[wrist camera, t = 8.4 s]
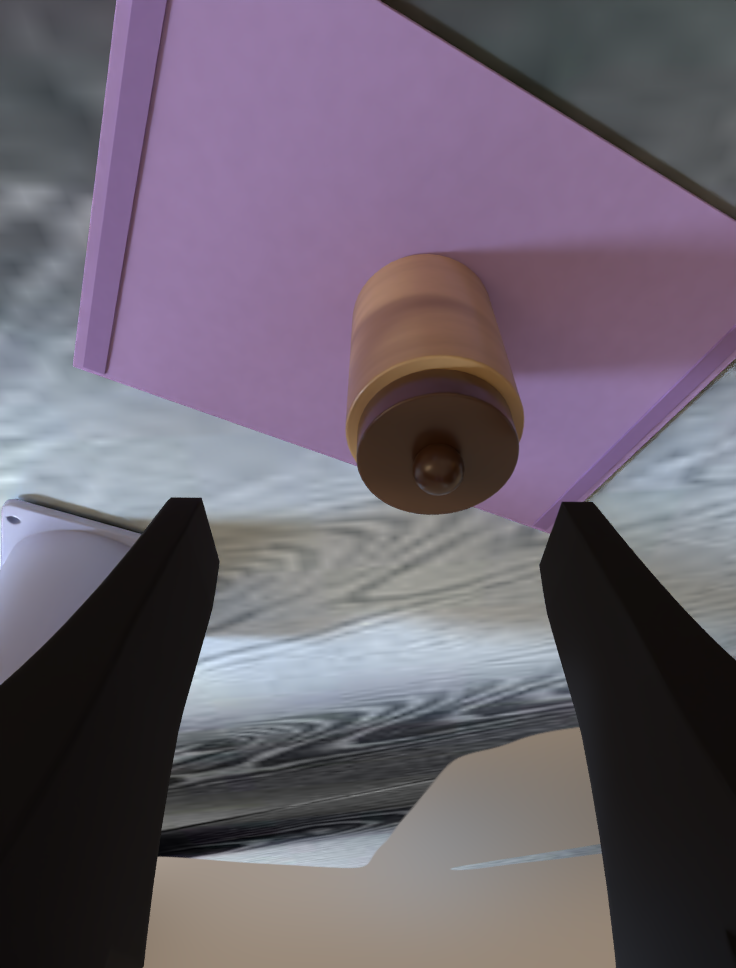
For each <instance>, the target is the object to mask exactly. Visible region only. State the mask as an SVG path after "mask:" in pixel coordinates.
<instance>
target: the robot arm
mask: <svg viewBox="0 0 736 968" xmlns="http://www.w3.org/2000/svg"><path fill="white" fill-rule="evenodd" d="M539 566H540V573H541V580H542V587H543V593H544V599H545V605H546V611H547V615H548V618H549V622H550V625H551V629H552V632H553V636H554V639H555V643H556V646H557V650H558V653H559V657H560V660H561V663H562V667H563V670H564V674H565V677H566V680H567V684H568V687H569V691H570V694H571V697H572V701H573V704H574V708H575V711H576V715H577V719H578V723H579V727H580V730H581V735H582V739H583V745H584V750H585V755H586V760H587V766H588V771H589V777H590V782H591V788H592V793H593V799H594V805H595V812H596V817H597V823H598V829H599V835H600V843H601V849H602V856H603V863H604V870H605V877H606V884H607V891H608V900H609V908H610V916H611V925H612V933H613V940H614V950H615V960H616V968H736V660H735V659H734V658H732V657H731V656H730V655H729V654H728V653H727V652H726V651H725V650H724V649H723V648H722V647H721V646H720V645H719V644H718V643H717V642H716V641H715V640H714V639H713V638H712V637H710V636H709V634H708V633H707V632H706V631H705V630H704V629H703V628H702V627H701V626H700V625H699V624H698V623H697V622H696V621H695V620H694V619H693V618H692V617H691V616H690V615H689V614H688V613H687V612H686V611H685V610H684V609H683V607H682V606H681V605H680V604H679V603H678V602H677V601H676V600H675V599H674V598H673V597H672V595H671V594H670V593H669V592H668V591H667V590H666V589H665V588H664V586H663V585H662V584H661V583H660V582H659V581H658V580H657V579H656V577H655V576H654V575H653V574H652V573H651V572H650V571H649V569H648V568H647V567H646V566H645V565H644V564H643V562H642V561H641V560H640V559H639V558H638V556H637V555H636V554H635V553H634V552H633V550H632V549H631V548H630V547H629V546H628V544H627V543H626V542H625V541H624V540H623V538H622V537H621V536H620V535H619V533H618V532H617V531H616V530H615V529H614V527H613V526H612V525H611V524H610V522H609V521H608V520H607V519H606V518H605V516H604V515H603V514H602V513H601V511H600V510H599V509H598V508H597V507H596V506H595V504H594V503H593V502H562V503H561V505H560V508H559V511H558V514H557V517H556V520H555V522H554V525H553V528H552V531H551V534H550V537H549V539H548V542H547V545H546V548H545V551H544V554H543V557H542V559H541V562H540V565H539ZM218 569H219V558H218V555H217V551H216V547H215V544H214V540H213V537H212V533H211V530H210V526H209V522H208V519H207V515H206V512H205V508H204V505H203V501H202V498H170V499H169V500H168V501H167V502H166V503H165V505H164V506H163V507H162V509H161V510H160V511H159V512H158V514H157V515H156V516H155V518H154V519H153V520H152V522H151V523H150V524H149V525H148V527H147V528H146V529H145V531H144V532H143V533H142V534H140V533H136V532H133V531H129V530H125V529H122V528H118V527H115V526H111V525H108V524H104V523H100V522H97V521H93V520H90V519H86V518H82V517H79V516H75V515H72V514H68V513H65V512H61V511H57V510H54V509H50V508H47V507H43V506H39V505H36V504H32V503H29V502H25V501H22V500H18V499H9V500H7V501H6V502H5V503H4V505H3V507H2V519H1V566H0V968H143V966H144V959H145V949H146V940H147V932H148V924H149V916H150V908H151V899H152V892H153V884H154V877H155V870H156V862H157V856H158V849H159V842H160V835H161V829H162V823H163V817H164V810H165V804H166V798H167V792H168V786H169V780H170V775H171V769H172V764H173V758H174V753H175V747H176V742H177V736H178V731H179V727H180V723H181V719H182V715H183V711H184V707H185V703H186V700H187V696H188V693H189V689H190V686H191V682H192V679H193V675H194V672H195V668H196V665H197V662H198V658H199V655H200V651H201V648H202V644H203V640H204V637H205V633H206V630H207V626H208V623H209V619H210V615H211V612H212V608H213V602H214V596H215V590H216V583H217V576H218Z"/></svg>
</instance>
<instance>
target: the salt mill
mask: <svg viewBox="0 0 736 968" xmlns="http://www.w3.org/2000/svg"><path fill="white" fill-rule="evenodd" d="M523 429H524V409H523V405H522V402H521V399H520V396H519V392H518V389H517V386H516V383H515V379H514V376H513V373H512V370H511V366H510V363H509V360H508V357H507V353H506V350H505V347H504V344H503V340H502V337H501V334H500V331H499V327H498V324H497V321H496V318H495V314H494V311H493V308H492V305H491V301H490V298H489V295H488V292H487V290H486V288H485V286H484V284H483V283H482V281H481V280H480V278H479V277H478V276H477V275H476V274H475V273H474V272H473V271H472V270H471V269H469V268H468V267H467V266H465V265H464V264H462V263H460V262H459V261H456V260H454V259H451V258H449V257H445V256H441V255H434V254H418V255H411V256H407V257H404V258H400V259H398V260H395V261H393V262H391V263H389V264H387V265H386V266H384V267H382V268H381V269H380V270H379V271H377V272H376V273H375V274H374V275H373V276H372V277H371V278H370V279H369V280H368V281H367V282H366V284H365V285H364V286H363V288H362V290H361V291H360V293H359V295H358V297H357V300H356V302H355V306H354V310H353V317H352V332H351V347H350V363H349V379H348V395H347V410H346V426H345V430H346V440H347V444H348V447H349V450H350V452H351V455H352V456H353V458H354V459H355V461H356V463H357V467H358V471H359V474H360V476H361V478H362V480H363V482H364V483H365V485H366V486H367V488H368V489H369V490H370V491H371V492H372V493H373V494H374V495H375V496H376V497H377V498H379V499H380V500H382V501H383V502H385V503H386V504H388V505H390V506H392V507H395V508H397V509H400V510H403V511H407V512H411V513H416V514H426V515H438V514H448V513H453V512H458V511H462V510H465V509H468V508H471V507H473V506H476V505H478V504H480V503H482V502H484V501H485V500H487V499H488V498H490V497H491V496H493V495H494V494H495V493H497V492H498V491H499V490H500V489H501V488H502V487H503V486H504V485H505V484H506V482H507V481H508V480H509V479H510V477H511V475H512V473H513V472H514V469H515V467H516V464H517V461H518V457H519V442H520V440H521V437H522V434H523Z"/></svg>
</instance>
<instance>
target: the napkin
mask: <svg viewBox="0 0 736 968" xmlns="http://www.w3.org/2000/svg"><path fill="white" fill-rule="evenodd" d="M418 254H434V255H441V256H445V257H449V258H451V259H454V260H456V261H459V262H460V263H462V264H464V265H465V266H467V267H468V268H469V269H471V270H472V271H473V272H474V273H475V274H476V275H477V276H478V277H479V278H480V280H481V281H482V283H483V284H484V286H485V288H486V290H487V292H488V295H489V298H490V301H491V305H492V308H493V311H494V314H495V318H496V321H497V324H498V327H499V331H500V334H501V337H502V340H503V344H504V347H505V350H506V353H507V357H508V360H509V363H510V366H511V370H512V373H513V376H514V379H515V383H516V386H517V389H518V392H519V396H520V399H521V402H522V405H523V409H524V429H523V434H522V437H521V440H520V442H519V457H518V461H517V464H516V467H515V469H514V472H513V473H512V475H511V477H510V479H509V480H508V481H507V482H506V484H505V485H504V486H503V487H502V488H501V489H500V490H499V491H498V492H497V493H495V494H494V495H493V496H491V497H490V498H488V499H487V500H485V501H484V502H482V503H480V504H478V505H476V506H473V507H475V508H478V509H481V510H484V511H487V512H490V513H492V514H495V515H498V516H501V517H504V518H507V519H509V520H512V521H515V522H518V523H521V524H524V525H527V526H529V527H532V528H535V529H538V530H541V531H544V532H547V533H551V531H552V528H553V525H554V522H555V520H556V517H557V514H558V511H559V508H560V505H561V503H562V502H584V501H585V500H586V499H587V498H588V497H589V496H590V495H591V494H592V493H593V492H594V491H595V490H596V489H597V488H599V487H600V486H601V485H602V484H603V483H604V482H605V481H606V480H607V479H608V478H609V477H610V476H611V475H612V474H613V473H614V472H616V471H617V470H618V469H619V468H620V467H621V466H622V465H623V464H624V463H625V462H626V461H627V460H628V459H629V458H630V457H631V456H633V455H634V454H635V453H636V452H637V451H638V450H639V449H640V448H641V447H642V446H643V445H644V444H645V443H646V442H647V441H648V440H649V439H651V438H652V437H653V436H654V435H655V434H656V433H657V432H658V431H659V430H660V429H661V428H662V427H663V426H664V425H665V424H666V423H668V422H669V421H670V420H671V419H672V418H673V417H674V416H675V415H676V414H677V413H678V412H679V411H680V410H681V409H682V408H683V407H685V406H686V405H687V404H688V403H689V402H690V401H691V400H692V399H693V398H694V397H695V396H696V395H697V394H698V393H699V392H700V391H702V390H703V389H704V388H705V387H706V386H707V385H708V384H709V383H710V382H711V381H712V380H713V379H714V378H715V377H716V376H717V375H719V374H720V373H721V372H722V371H723V370H724V369H725V368H726V367H727V366H728V365H729V364H730V363H731V362H732V361H733V360H734V359H736V220H735V219H733V218H731V217H730V216H728V215H726V214H725V213H723V212H722V211H720V210H718V209H717V208H715V207H714V206H712V205H710V204H709V203H707V202H705V201H704V200H702V199H701V198H699V197H697V196H696V195H694V194H692V193H691V192H689V191H688V190H686V189H684V188H683V187H681V186H680V185H678V184H676V183H675V182H673V181H671V180H670V179H668V178H667V177H665V176H663V175H662V174H660V173H659V172H657V171H655V170H654V169H652V168H650V167H649V166H647V165H646V164H644V163H642V162H641V161H639V160H638V159H636V158H634V157H633V156H631V155H629V154H628V153H626V152H625V151H623V150H621V149H620V148H618V147H617V146H615V145H613V144H612V143H610V142H608V141H607V140H605V139H604V138H602V137H600V136H599V135H597V134H595V133H594V132H592V131H591V130H589V129H587V128H586V127H584V126H583V125H581V124H579V123H578V122H576V121H574V120H573V119H571V118H570V117H568V116H566V115H565V114H563V113H562V112H560V111H558V110H557V109H555V108H553V107H552V106H550V105H549V104H547V103H545V102H544V101H542V100H541V99H539V98H537V97H536V96H534V95H532V94H531V93H529V92H528V91H526V90H524V89H523V88H521V87H520V86H518V85H516V84H515V83H513V82H511V81H510V80H508V79H507V78H505V77H503V76H502V75H500V74H498V73H497V72H495V71H494V70H492V69H490V68H489V67H487V66H486V65H484V64H482V63H481V62H479V61H477V60H476V59H474V58H473V57H471V56H469V55H468V54H466V53H465V52H463V51H461V50H460V49H458V48H456V47H455V46H453V45H452V44H450V43H448V42H447V41H445V40H444V39H442V38H440V37H439V36H437V35H435V34H434V33H432V32H431V31H429V30H427V29H426V28H424V27H423V26H421V25H419V24H418V23H416V22H414V21H413V20H411V19H410V18H408V17H406V16H405V15H403V14H402V13H400V12H398V11H397V10H395V9H393V8H392V7H390V6H389V5H387V4H385V3H384V2H382V1H380V0H117V1H116V9H115V18H114V26H113V34H112V43H111V51H110V60H109V68H108V76H107V85H106V93H105V101H104V110H103V118H102V127H101V135H100V143H99V152H98V160H97V168H96V177H95V185H94V194H93V202H92V210H91V219H90V227H89V236H88V244H87V252H86V261H85V269H84V277H83V286H82V294H81V303H80V311H79V319H78V328H77V336H76V344H75V353H74V361H73V366H74V367H76V368H79V369H82V370H85V371H87V372H90V373H93V374H96V375H99V376H102V377H105V378H107V379H110V380H113V381H116V382H119V383H122V384H125V385H127V386H130V387H133V388H136V389H139V390H142V391H145V392H147V393H150V394H153V395H156V396H159V397H162V398H164V399H167V400H170V401H173V402H176V403H179V404H182V405H184V406H187V407H190V408H193V409H196V410H199V411H202V412H204V413H207V414H210V415H213V416H216V417H219V418H221V419H224V420H227V421H230V422H233V423H236V424H239V425H241V426H244V427H247V428H250V429H253V430H256V431H259V432H261V433H264V434H267V435H270V436H273V437H276V438H279V439H281V440H284V441H287V442H290V443H293V444H296V445H298V446H301V447H304V448H307V449H310V450H313V451H316V452H318V453H321V454H324V455H327V456H330V457H333V458H336V459H338V460H341V461H344V462H347V463H350V464H353V465H355V466H357V463H356V461H355V459H354V458H353V456H352V455H351V452H350V450H349V447H348V444H347V440H346V430H345V426H346V410H347V395H348V379H349V363H350V347H351V332H352V317H353V310H354V306H355V302H356V300H357V297H358V295H359V293H360V291H361V290H362V288H363V286H364V285H365V284H366V282H367V281H368V280H369V279H370V278H371V277H372V276H373V275H374V274H375V273H376V272H377V271H379V270H380V269H381V268H382V267H384V266H386V265H387V264H389V263H391V262H393V261H395V260H398V259H400V258H404V257H407V256H411V255H418Z"/></svg>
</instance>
